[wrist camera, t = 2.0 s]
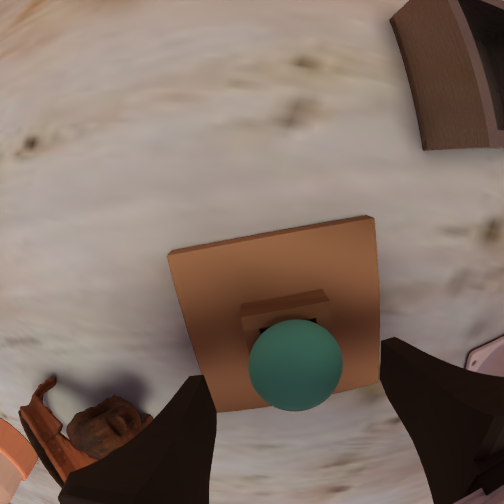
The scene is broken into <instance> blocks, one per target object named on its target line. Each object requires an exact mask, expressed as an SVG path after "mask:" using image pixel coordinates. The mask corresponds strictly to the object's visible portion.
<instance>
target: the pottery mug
mask: <svg viewBox="0 0 504 504" xmlns="http://www.w3.org/2000/svg"><path fill="white" fill-rule="evenodd" d="M55 385H56V381H55V378H54V377H51V378H50V379H49V380H46V381H45V382H44V383H43V384H40V385H39V387H38V389H37V390H36V391H35V392H34V394H33V395H32V399H31V402H30V403H29V405H27V406H21V407H20V410H19V412H18V413H19V416H20V421H21V424H22V426H23V428H24V431H25V433H26V435H27V437H28V439H29V441H30V443H31V445H32V446H33V448H34V450H35V452H36V453H37V455H38V457H39V458H40V460H41V462H42V463H43V465H44V466H45V468H46V469H47V470H48V472H49V474H50V475H51V476H52V477H53V478H54V479H55V481H56V482H57V483H58V484H59V486H60V487H61V488H62V487H63V485H64V483H65V481H66V479H67V477H68V475H69V473H70V472H73V471H76V470H78V469H80V468H83V467H85V466H88V465H90V464H92V463H94V462H96V461H98V460H100V459H102V458H104V457H106V456H108V455H109V454H111V453H113V452H114V451H116V450H117V449H119V448H120V447H122V446H123V445H124V444H126V443H127V442H129V441H130V440H131V439H133V438H134V437H135V436H136V435H138V434H139V433H140V432H141V431H142V430H143V429H144V428H145V427H147V426H148V425H149V424H150V423H151V422H152V421H153V418H152V416H150V415H147V416H145V417H144V419H143V421H142V422H141V419H140V415H139V413H138V411H137V410H135V408H134V406H133V405H132V404H131V403H129V402H128V401H126V400H124V399H122V398H121V397H118V396H116V395H112V396H111V397H110V398H106V399H105V400H104V401H103V402H102V403H100V404H98V405H97V406H96V407H90V408H88V409H86V410H85V411H83V412H79V413H77V414H76V415H75V416H74V418H73V419H72V421H71V422H70V423H69V424H68V426H67V434H68V436H69V438H70V440H69V439H68V438H66V437H65V436H64V435H62V434H61V433H60V431H61V429H62V427H63V425H62V423H61V422H60V421H59V420H58V419H57V418H56V417H55V416H54V415H53V414H52V411H51V410H50V409H49V408H48V407H46V406H44V404H43V395H44V394H45V393H46V392H47V391H48V390H49V389H51V388H52V387H54V386H55Z"/></svg>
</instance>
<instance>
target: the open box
mask: <svg viewBox="0 0 504 504" xmlns="http://www.w3.org/2000/svg"><path fill="white" fill-rule="evenodd" d="M390 22H391V24H392V27H393V30H394V33H395V36H396V39H397V42H398V45H399V48H400V51H401V54H402V58H403V61H404V64H405V68H406V71H407V75H408V79H409V83H410V87H411V91H412V95H413V99H414V104H415V108H416V113H417V118H418V123H419V128H420V133H421V139H422V145H423V151H425V150H442V149H465V148H504V1H503V0H409V1H408V2H407V3H406V4H405V5H404V6H403V7H402V8H401V9H400V10H399V11H398V12H397V13H396V14H395V15H394V16H393V17H392V18H391V19H390Z"/></svg>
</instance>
